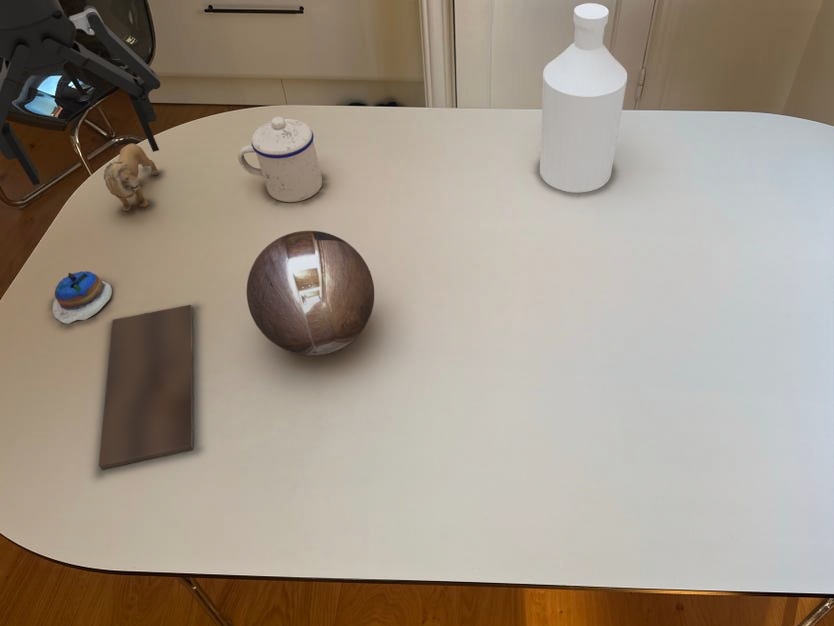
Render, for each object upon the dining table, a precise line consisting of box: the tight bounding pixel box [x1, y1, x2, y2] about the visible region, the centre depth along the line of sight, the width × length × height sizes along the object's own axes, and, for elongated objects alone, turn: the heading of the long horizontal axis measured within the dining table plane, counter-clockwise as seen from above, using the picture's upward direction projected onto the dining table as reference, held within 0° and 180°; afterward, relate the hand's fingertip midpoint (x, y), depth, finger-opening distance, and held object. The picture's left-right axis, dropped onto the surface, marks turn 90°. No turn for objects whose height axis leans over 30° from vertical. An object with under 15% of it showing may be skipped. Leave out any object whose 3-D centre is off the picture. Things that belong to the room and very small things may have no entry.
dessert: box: [51, 271, 113, 325], centre depth 95 cm, size 8×7×6 cm
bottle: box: [539, 2, 628, 194], centre depth 103 cm, size 12×12×25 cm
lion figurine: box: [103, 143, 160, 212], centre depth 107 cm, size 15×5×9 cm, turn 13°
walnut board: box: [98, 304, 194, 470], centre depth 86 cm, size 10×23×1 cm, turn 15°
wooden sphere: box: [246, 230, 375, 356], centre depth 85 cm, size 15×15×15 cm
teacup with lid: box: [237, 116, 323, 203], centre depth 107 cm, size 12×9×12 cm
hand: (96, 161), depth 84 cm, fingers open, 13 cm apart
